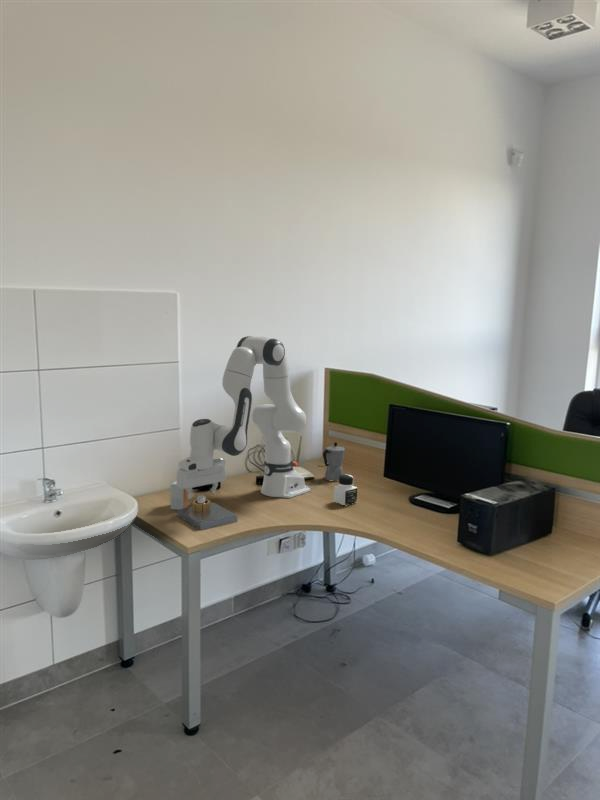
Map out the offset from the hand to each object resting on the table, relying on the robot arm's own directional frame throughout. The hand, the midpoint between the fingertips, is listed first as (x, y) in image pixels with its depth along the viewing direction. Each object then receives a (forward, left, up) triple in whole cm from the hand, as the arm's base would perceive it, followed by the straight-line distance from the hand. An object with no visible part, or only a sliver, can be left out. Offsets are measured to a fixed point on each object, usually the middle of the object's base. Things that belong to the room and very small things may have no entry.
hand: (202, 495), depth 236 cm
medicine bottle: (-57, +20, -8) cm, 61 cm away
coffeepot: (-76, -9, -8) cm, 77 cm away
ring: (0, 0, -5) cm, 5 cm away
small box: (+3, -13, -8) cm, 15 cm away
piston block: (+1, +5, -8) cm, 9 cm away
